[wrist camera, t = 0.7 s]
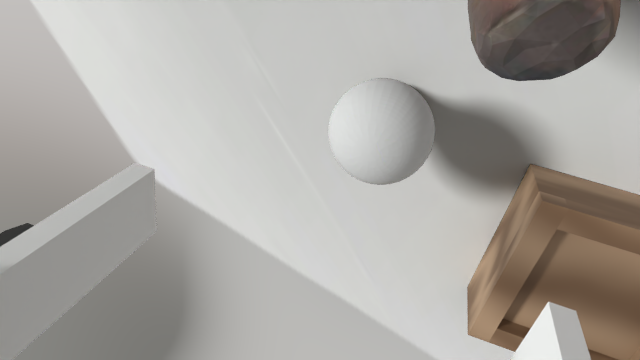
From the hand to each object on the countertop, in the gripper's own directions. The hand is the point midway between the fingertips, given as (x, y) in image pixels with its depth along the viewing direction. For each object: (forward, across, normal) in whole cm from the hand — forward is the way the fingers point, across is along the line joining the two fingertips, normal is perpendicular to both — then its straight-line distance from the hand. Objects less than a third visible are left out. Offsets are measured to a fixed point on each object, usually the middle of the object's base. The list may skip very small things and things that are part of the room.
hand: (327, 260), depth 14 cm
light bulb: (+19, 0, 0) cm, 19 cm away
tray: (+18, +16, -8) cm, 26 cm away
